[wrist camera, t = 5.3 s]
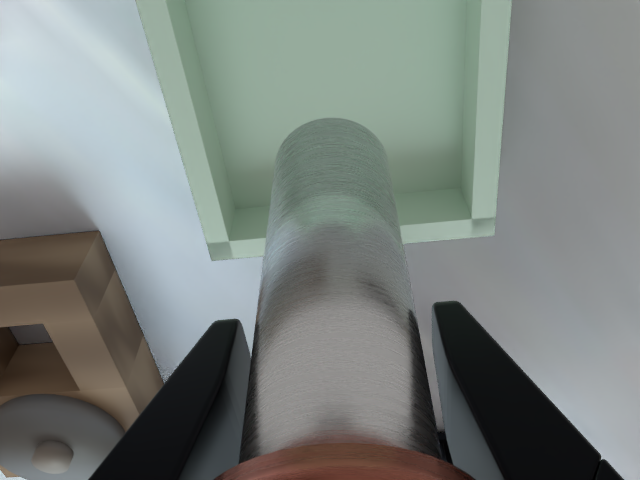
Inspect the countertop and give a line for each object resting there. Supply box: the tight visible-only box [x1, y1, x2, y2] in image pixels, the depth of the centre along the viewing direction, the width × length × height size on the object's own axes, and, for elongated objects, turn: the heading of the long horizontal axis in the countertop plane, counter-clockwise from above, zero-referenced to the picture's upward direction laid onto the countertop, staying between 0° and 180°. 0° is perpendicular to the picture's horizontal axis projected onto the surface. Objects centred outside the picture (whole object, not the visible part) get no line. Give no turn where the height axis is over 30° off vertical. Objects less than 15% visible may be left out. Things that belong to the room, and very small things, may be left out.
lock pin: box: [213, 118, 476, 480], centre depth 10 cm, size 4×4×9 cm
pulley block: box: [0, 231, 164, 480], centre depth 26 cm, size 12×8×4 cm, turn 7°
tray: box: [135, 0, 512, 261], centre depth 18 cm, size 12×10×3 cm
